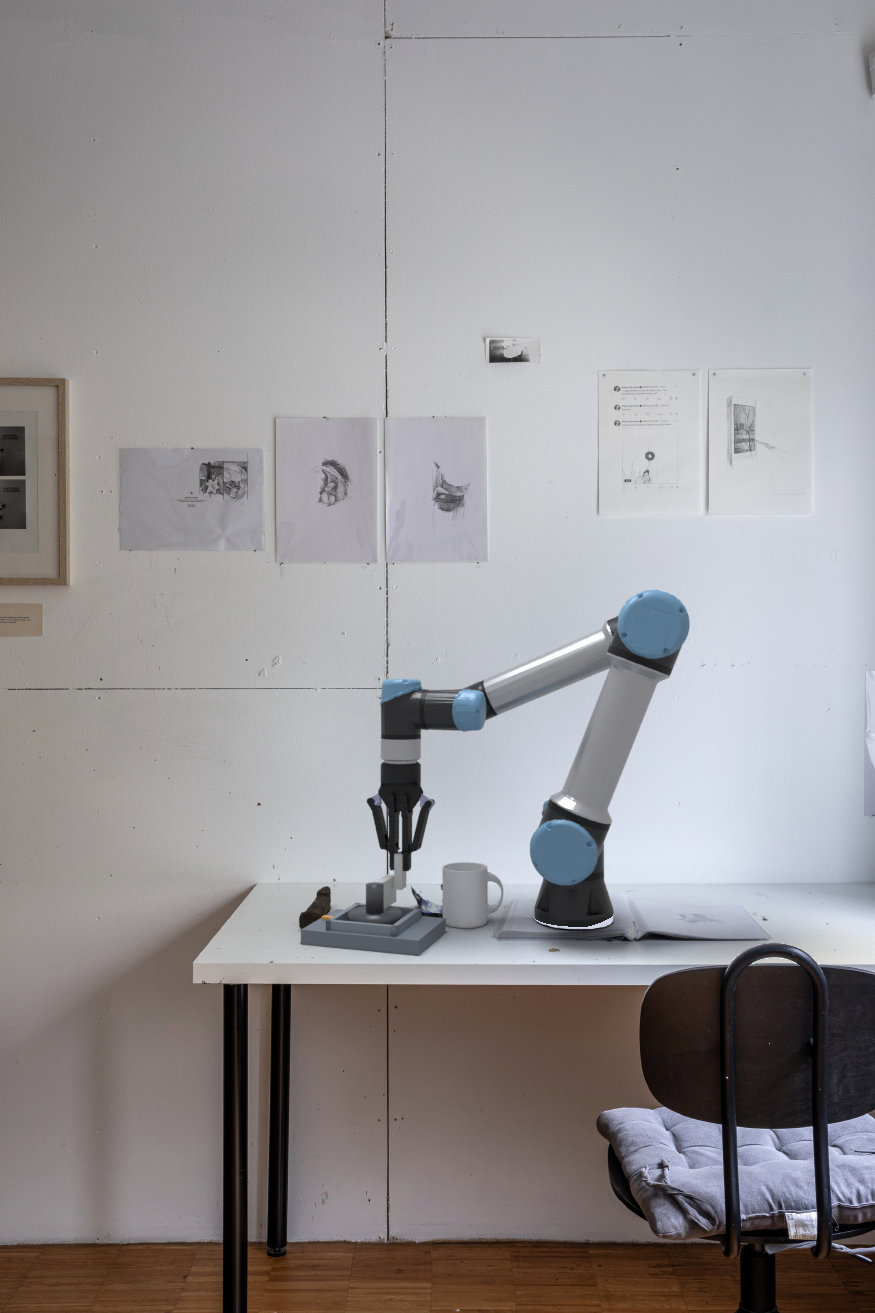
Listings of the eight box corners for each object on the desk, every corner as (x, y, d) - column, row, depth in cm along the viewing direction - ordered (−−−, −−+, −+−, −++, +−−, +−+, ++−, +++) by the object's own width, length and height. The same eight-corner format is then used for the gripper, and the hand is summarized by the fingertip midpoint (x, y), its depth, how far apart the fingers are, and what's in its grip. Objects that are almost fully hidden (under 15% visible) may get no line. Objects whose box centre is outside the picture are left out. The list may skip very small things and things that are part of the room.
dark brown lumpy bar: (319, 933, 173) (319, 907, 173) (298, 932, 173) (298, 907, 173) (341, 907, 192) (341, 884, 192) (322, 907, 192) (322, 884, 192)
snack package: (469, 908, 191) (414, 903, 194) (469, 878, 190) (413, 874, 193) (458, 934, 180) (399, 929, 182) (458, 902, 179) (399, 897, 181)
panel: (445, 932, 172) (445, 909, 172) (418, 955, 158) (418, 930, 158) (336, 922, 179) (336, 900, 179) (300, 944, 165) (300, 920, 165)
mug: (510, 926, 176) (510, 869, 176) (449, 930, 173) (448, 872, 173) (496, 914, 184) (496, 860, 184) (437, 918, 181) (437, 863, 181)
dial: (389, 931, 162) (389, 892, 162) (339, 927, 165) (339, 888, 166) (415, 912, 175) (415, 876, 175) (368, 908, 178) (368, 873, 178)
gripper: (440, 760, 176) (439, 886, 176) (375, 758, 180) (374, 881, 180) (428, 764, 169) (427, 895, 169) (360, 762, 173) (360, 890, 172)
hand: (400, 888), depth 174 cm, fingers closed
